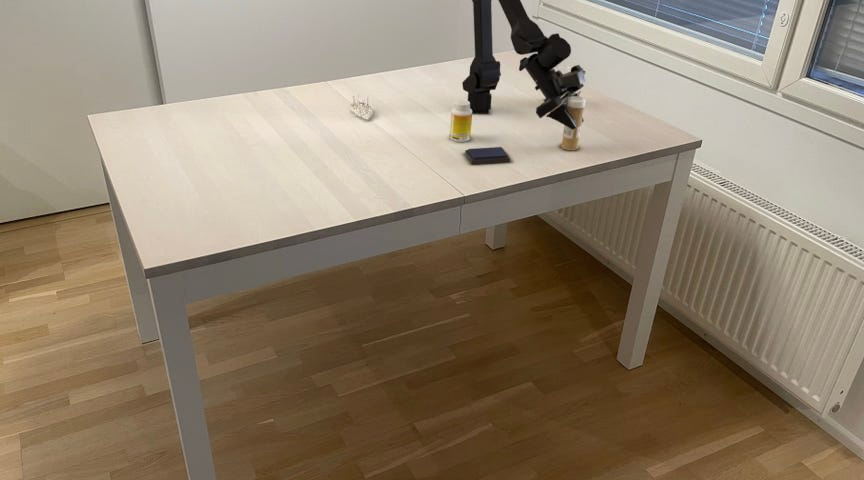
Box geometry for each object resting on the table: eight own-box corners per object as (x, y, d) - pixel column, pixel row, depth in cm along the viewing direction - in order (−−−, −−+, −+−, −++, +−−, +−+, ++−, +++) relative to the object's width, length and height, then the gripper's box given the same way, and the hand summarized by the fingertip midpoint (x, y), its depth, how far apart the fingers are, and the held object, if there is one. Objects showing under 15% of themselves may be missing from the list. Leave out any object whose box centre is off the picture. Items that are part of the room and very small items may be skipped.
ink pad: (471, 164, 182) (471, 158, 181) (464, 154, 187) (465, 148, 186) (509, 162, 183) (510, 156, 182) (501, 151, 189) (502, 145, 188)
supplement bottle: (473, 141, 194) (476, 104, 189) (455, 143, 193) (457, 107, 187) (464, 133, 199) (467, 97, 193) (446, 136, 197) (448, 100, 191)
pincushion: (377, 120, 206) (377, 101, 203) (356, 122, 205) (356, 103, 202) (364, 105, 216) (364, 87, 213) (345, 107, 214) (344, 89, 211)
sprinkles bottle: (581, 149, 190) (589, 100, 183) (566, 151, 189) (573, 102, 182) (572, 143, 194) (579, 94, 186) (557, 145, 192) (564, 96, 185)
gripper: (554, 67, 173) (590, 120, 174) (582, 48, 186) (615, 98, 187) (520, 92, 181) (555, 143, 182) (549, 72, 194) (582, 120, 195)
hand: (578, 125), depth 187 cm, fingers open, 5 cm apart
